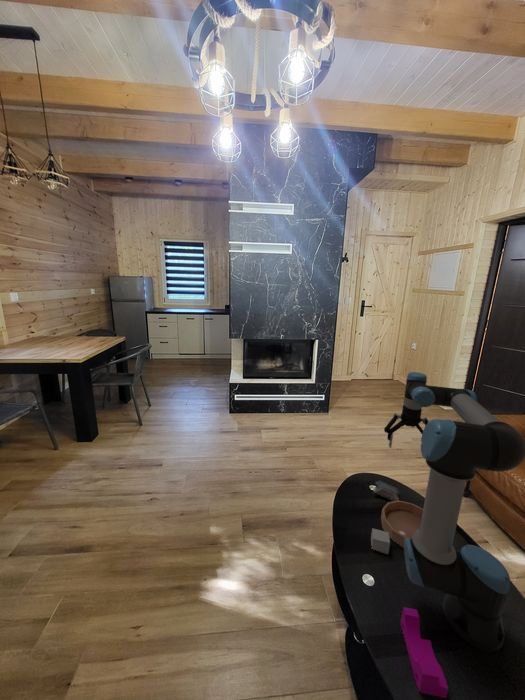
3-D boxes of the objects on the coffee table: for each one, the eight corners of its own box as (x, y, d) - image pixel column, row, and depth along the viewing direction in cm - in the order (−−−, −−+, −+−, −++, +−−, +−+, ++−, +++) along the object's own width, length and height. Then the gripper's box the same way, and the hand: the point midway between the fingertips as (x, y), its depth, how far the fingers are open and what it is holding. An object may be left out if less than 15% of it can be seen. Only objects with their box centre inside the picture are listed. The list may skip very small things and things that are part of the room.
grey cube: (388, 555, 107) (390, 542, 106) (371, 551, 109) (373, 538, 108) (386, 544, 112) (388, 532, 111) (370, 540, 114) (372, 528, 112)
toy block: (445, 701, 70) (450, 679, 68) (418, 695, 71) (423, 673, 69) (422, 630, 84) (425, 611, 82) (400, 626, 85) (403, 607, 83)
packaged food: (397, 507, 132) (400, 498, 131) (371, 494, 137) (374, 486, 136) (399, 495, 139) (402, 487, 138) (374, 484, 145) (377, 476, 143)
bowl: (446, 560, 106) (448, 549, 105) (384, 544, 112) (386, 534, 111) (430, 517, 126) (432, 507, 125) (379, 505, 132) (380, 496, 131)
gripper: (441, 407, 125) (434, 450, 130) (381, 399, 133) (376, 440, 137) (446, 414, 118) (438, 459, 123) (383, 405, 126) (377, 448, 130)
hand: (405, 449), depth 130 cm, fingers open, 13 cm apart
